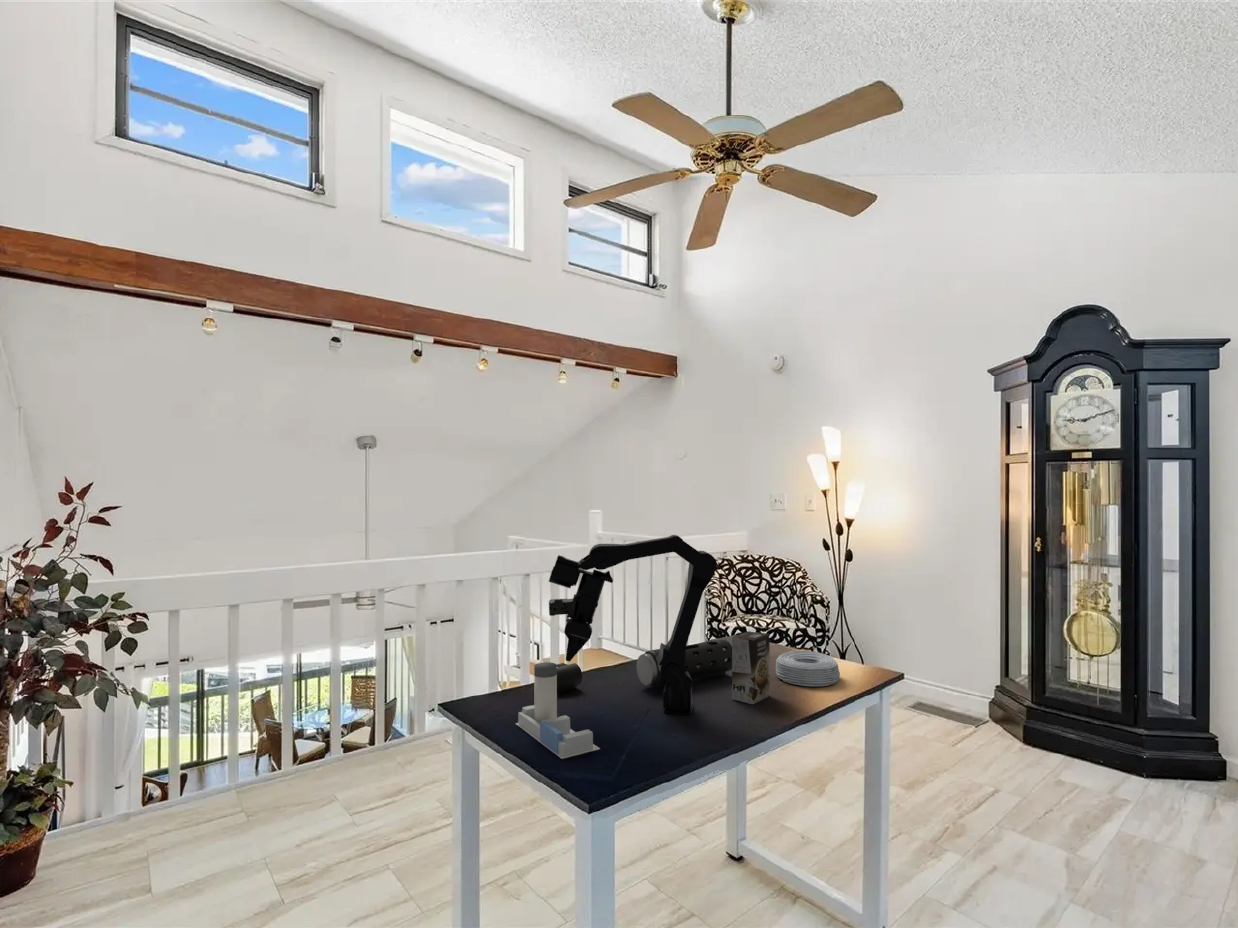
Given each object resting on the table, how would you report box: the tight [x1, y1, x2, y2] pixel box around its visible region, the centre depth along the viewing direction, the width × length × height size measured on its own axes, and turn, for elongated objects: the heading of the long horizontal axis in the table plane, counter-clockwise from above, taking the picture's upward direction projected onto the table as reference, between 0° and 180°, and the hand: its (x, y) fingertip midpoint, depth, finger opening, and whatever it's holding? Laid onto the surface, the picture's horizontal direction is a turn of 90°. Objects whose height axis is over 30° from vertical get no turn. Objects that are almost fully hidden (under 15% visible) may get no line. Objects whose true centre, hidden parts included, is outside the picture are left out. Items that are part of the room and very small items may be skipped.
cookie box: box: [731, 630, 771, 705], centre depth 173 cm, size 9×6×16 cm
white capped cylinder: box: [533, 661, 558, 724], centre depth 150 cm, size 5×5×14 cm
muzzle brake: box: [636, 639, 732, 688], centre depth 187 cm, size 10×28×10 cm, turn 121°
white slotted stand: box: [515, 704, 601, 760], centre depth 146 cm, size 9×23×5 cm, turn 32°
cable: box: [775, 650, 841, 688], centre depth 189 cm, size 18×18×6 cm
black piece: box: [556, 662, 583, 694], centre depth 179 cm, size 10×7×7 cm
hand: (568, 655), depth 163 cm, fingers open, 9 cm apart
